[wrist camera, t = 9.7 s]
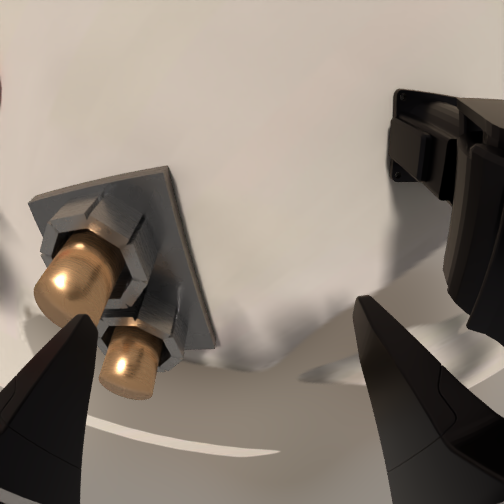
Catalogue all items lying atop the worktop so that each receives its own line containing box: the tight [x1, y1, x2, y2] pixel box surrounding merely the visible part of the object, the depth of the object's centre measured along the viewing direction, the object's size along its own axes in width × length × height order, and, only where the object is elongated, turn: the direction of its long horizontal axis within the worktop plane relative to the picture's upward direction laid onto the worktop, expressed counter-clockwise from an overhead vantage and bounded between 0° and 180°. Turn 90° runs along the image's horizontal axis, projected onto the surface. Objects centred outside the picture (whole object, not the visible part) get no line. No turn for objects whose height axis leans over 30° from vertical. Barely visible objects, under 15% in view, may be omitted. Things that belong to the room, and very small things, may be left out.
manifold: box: [28, 166, 216, 400], centre depth 21 cm, size 18×12×8 cm, turn 6°
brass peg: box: [34, 228, 126, 328], centre depth 17 cm, size 4×4×7 cm
